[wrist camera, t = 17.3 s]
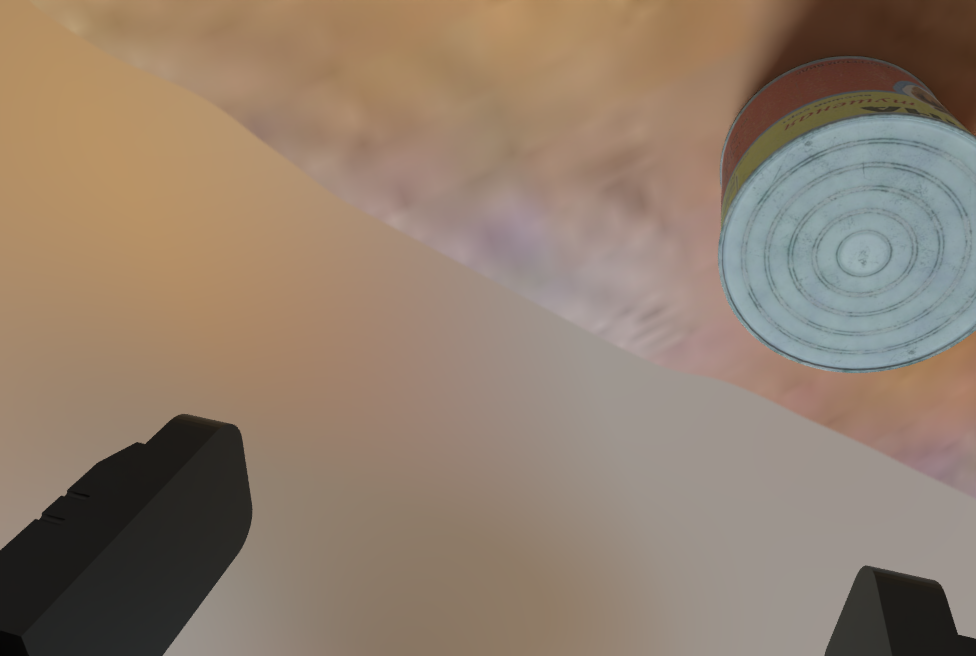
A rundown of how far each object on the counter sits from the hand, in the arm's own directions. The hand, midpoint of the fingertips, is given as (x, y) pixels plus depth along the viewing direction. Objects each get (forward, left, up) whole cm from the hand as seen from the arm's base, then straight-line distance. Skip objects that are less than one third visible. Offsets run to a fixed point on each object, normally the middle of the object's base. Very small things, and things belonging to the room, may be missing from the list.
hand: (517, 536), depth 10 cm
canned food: (-9, +5, -36) cm, 38 cm away
